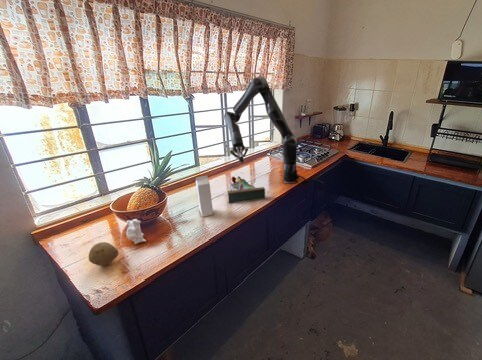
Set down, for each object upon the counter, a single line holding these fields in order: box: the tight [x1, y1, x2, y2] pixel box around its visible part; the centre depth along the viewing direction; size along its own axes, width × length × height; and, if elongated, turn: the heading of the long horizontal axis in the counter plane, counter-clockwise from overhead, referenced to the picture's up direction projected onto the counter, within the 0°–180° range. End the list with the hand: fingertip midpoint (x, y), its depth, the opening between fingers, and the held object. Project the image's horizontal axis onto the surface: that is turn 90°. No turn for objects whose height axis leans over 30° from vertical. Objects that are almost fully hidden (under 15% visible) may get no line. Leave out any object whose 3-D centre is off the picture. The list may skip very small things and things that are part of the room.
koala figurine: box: [125, 218, 147, 245], centre depth 110 cm, size 8×7×12 cm
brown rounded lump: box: [88, 241, 119, 267], centre depth 97 cm, size 9×9×10 cm
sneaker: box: [230, 175, 256, 191], centre depth 159 cm, size 8×21×10 cm, turn 60°
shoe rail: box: [227, 186, 266, 204], centre depth 150 cm, size 22×3×7 cm, turn 107°
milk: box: [195, 175, 214, 218], centre depth 131 cm, size 6×6×22 cm
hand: (242, 162), depth 165 cm, fingers closed
